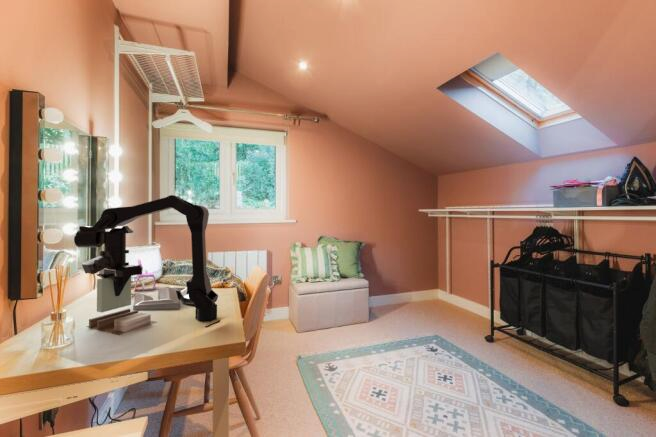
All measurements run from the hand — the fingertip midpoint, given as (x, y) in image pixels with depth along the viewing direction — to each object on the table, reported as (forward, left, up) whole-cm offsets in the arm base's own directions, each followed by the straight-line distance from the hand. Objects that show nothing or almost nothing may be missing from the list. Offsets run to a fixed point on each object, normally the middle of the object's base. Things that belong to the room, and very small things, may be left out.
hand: (114, 295), depth 96 cm
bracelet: (+32, -28, -10) cm, 44 cm away
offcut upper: (-9, 0, -7) cm, 12 cm away
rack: (-4, 0, -10) cm, 11 cm away
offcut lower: (-9, 0, -9) cm, 13 cm away
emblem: (+7, -25, -11) cm, 28 cm away
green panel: (0, 0, -4) cm, 4 cm away
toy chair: (+40, -38, -10) cm, 56 cm away
